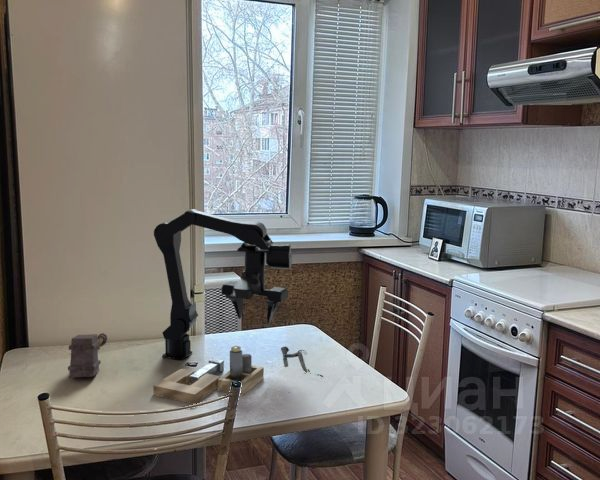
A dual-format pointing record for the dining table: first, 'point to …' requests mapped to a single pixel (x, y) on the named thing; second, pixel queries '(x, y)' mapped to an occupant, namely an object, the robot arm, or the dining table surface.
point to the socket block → (186, 386)
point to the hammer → (85, 355)
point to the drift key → (208, 369)
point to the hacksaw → (285, 355)
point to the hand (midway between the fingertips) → (254, 320)
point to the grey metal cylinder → (236, 363)
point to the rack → (243, 376)
